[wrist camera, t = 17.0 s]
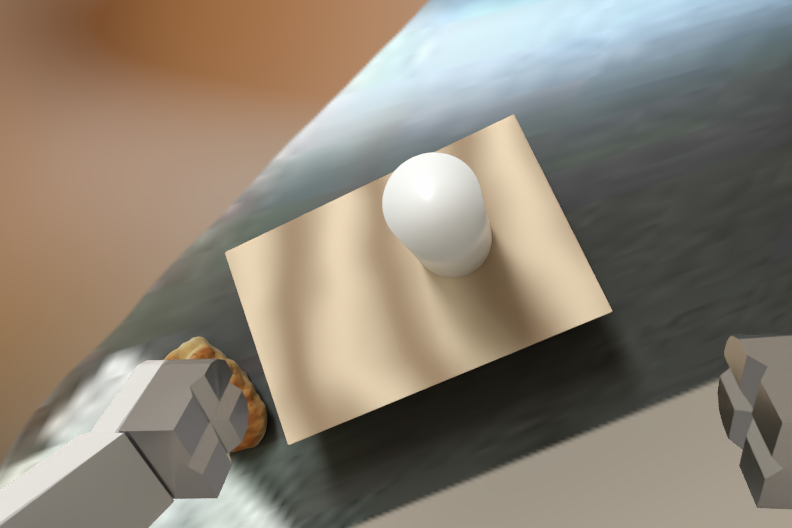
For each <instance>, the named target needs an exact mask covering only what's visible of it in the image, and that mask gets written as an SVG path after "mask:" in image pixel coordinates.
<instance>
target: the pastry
mask: <svg viewBox="0 0 792 528" xmlns="http://www.w3.org/2000/svg"><path fill="white" fill-rule="evenodd" d="M170 359H222V360H226V362H227V364H228V365H229V367H230V369H231V371H232V372H233V375H232V377H231V380H230V383H232V384H233V385H235V386H236V387H238V388H239V389H240V390H242V392H243V394H244V396H245V398H246V400H247V405H248V410H249V415H248V425H247V430H246V432H245V435H244V437H243V440H242V442H241V443H240V444H239V445H238V446H237V447H235V448H234V449H233V450H232V451H231V452H236V451H240V450H243V449H246V448H253V447H255V446H257V445H258V444H259V442H260V441H261V440H262V438H263V437H264V435H265V432H266V427H267V411H266V405H265V404H264V402H263V401H262V400H261V398H260V396H259V395H258V394H257V392H256V390H255V387H254V385H253V384H252V383H251V382H250V380H249V377H248V375H247V373H246V372H245V371H243V370H242V369H241V368H240V367H239V365H238V364H237V363H236V362H235V361H233V360H230V359H228V358H227V356H226V355H224V354H223V353H222V352H221V351H220V350H218V349H217V348H215V347H213V346H212V345H211V344H210V343H209V342H208V341H207V340H206V339H205V338H203V337H194V338H192V339H191V340H189V341H187V342H185V343H183V344H182V345H181V346H180V347H179V348H178V349H176V350H174V351H172V352H171V353H170V354H168V355H167V357H166V358H165V359H164V360H170Z"/></svg>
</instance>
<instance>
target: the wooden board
mask: <svg viewBox="0 0 792 528" xmlns="http://www.w3.org/2000/svg"><path fill="white" fill-rule="evenodd" d="M434 153H444V154H449V155H452V156H454V157H456V158H458V159H460V160H462V161H463V162H464V163H466V164H467V165H468V166H469V167H470V168H471V170H472V171H473V172H474V174H475V176H476V177H477V179H478V182H479V185H480V189H481V193H482V197H483V201H484V204H485V208H486V212H487V216H488V220H489V224H490V228H491V232H492V245H491V249H490V252H489V255H488V257H487V258H486V260H485V261H484V263H483V264H482V265H481V266H480V267H479V268H478V269H477V270H475V271H474V272H472V273H470V274H468V275H465V276H462V277H457V278H447V277H442V276H439V275H436V274H434V273H432V272H431V271H429V270H428V269H427V268H426V267H425V266H424V265H423V264H422V263H421V262H420V261H419V260H418V259H417V258H416V257H415V256H414V255H413V254H412V252H411V251H410V250H409V249H408V248H407V247H406V246H405V245H404V244H403V243H402V242H401V241H400V240H399V239H398V238H397V237H396V236H395V235H394V233H393V232H392V231H391V230H390V228H389V227H388V225H387V223H386V221H385V218H384V214H383V209H382V199H383V193H384V189H385V186H386V184H387V182H388V180H389V178H390V177H391V175H392V174H393V173H394V172H392V173H390V174H388V175H386V176H384V177H382V178H380V179H377V180H375V181H373V182H371V183H369V184H367V185H365V186H363V187H361V188H359V189H357V190H354V191H352V192H350V193H348V194H346V195H344V196H342V197H340V198H338V199H336V200H334V201H331V202H329V203H327V204H325V205H323V206H321V207H319V208H317V209H315V210H313V211H311V212H308V213H306V214H304V215H302V216H300V217H298V218H296V219H294V220H292V221H290V222H288V223H285V224H283V225H281V226H279V227H277V228H275V229H273V230H271V231H269V232H267V233H265V234H263V235H260V236H258V237H256V238H254V239H252V240H250V241H248V242H246V243H244V244H242V245H240V246H237V247H235V248H233V249H231V250H229V251H227V252H225V255H226V258H227V261H228V264H229V267H230V270H231V273H232V276H233V279H234V282H235V285H236V288H237V291H238V294H239V297H240V300H241V303H242V306H243V309H244V312H245V315H246V318H247V321H248V324H249V327H250V330H251V333H252V336H253V339H254V343H255V346H256V349H257V352H258V355H259V358H260V361H261V364H262V367H263V370H264V373H265V376H266V379H267V382H268V385H269V388H270V391H271V394H272V397H273V400H274V403H275V406H276V409H277V412H278V415H279V418H280V421H281V424H282V427H283V430H284V434H285V437H286V440H287V443H288V445H290V444H293V443H295V442H298V441H300V440H303V439H305V438H308V437H310V436H313V435H315V434H317V433H320V432H322V431H325V430H327V429H330V428H332V427H334V426H337V425H339V424H342V423H344V422H347V421H349V420H351V419H354V418H356V417H359V416H361V415H363V414H366V413H368V412H371V411H373V410H376V409H378V408H380V407H383V406H385V405H388V404H390V403H393V402H395V401H397V400H400V399H402V398H405V397H407V396H410V395H412V394H414V393H417V392H419V391H422V390H424V389H427V388H429V387H431V386H434V385H436V384H439V383H441V382H443V381H446V380H448V379H451V378H453V377H456V376H458V375H460V374H463V373H465V372H468V371H470V370H473V369H475V368H477V367H480V366H482V365H485V364H487V363H490V362H492V361H494V360H497V359H499V358H502V357H504V356H507V355H509V354H511V353H514V352H516V351H519V350H521V349H523V348H526V347H528V346H531V345H533V344H536V343H538V342H540V341H543V340H545V339H548V338H550V337H553V336H555V335H557V334H560V333H562V332H565V331H567V330H570V329H572V328H574V327H577V326H579V325H582V324H584V323H586V322H589V321H591V320H594V319H596V318H599V317H601V316H603V315H606V314H608V313H610V312H612V309H611V307H610V305H609V303H608V301H607V299H606V297H605V295H604V293H603V291H602V289H601V287H600V285H599V283H598V281H597V279H596V277H595V275H594V273H593V271H592V269H591V267H590V265H589V263H588V261H587V259H586V257H585V255H584V253H583V251H582V249H581V247H580V245H579V243H578V241H577V239H576V237H575V235H574V233H573V231H572V229H571V227H570V225H569V223H568V221H567V219H566V217H565V215H564V213H563V211H562V209H561V207H560V205H559V203H558V201H557V200H556V198H555V196H554V194H553V192H552V190H551V188H550V186H549V184H548V182H547V180H546V178H545V176H544V174H543V172H542V170H541V168H540V166H539V164H538V162H537V160H536V158H535V156H534V154H533V152H532V150H531V148H530V146H529V144H528V142H527V140H526V138H525V136H524V134H523V132H522V130H521V128H520V126H519V124H518V122H517V120H516V118H515V116H514V114H513V115H511V116H509V117H507V118H505V119H503V120H501V121H499V122H497V123H495V124H492V125H490V126H488V127H486V128H484V129H482V130H480V131H478V132H476V133H474V134H472V135H469V136H467V137H465V138H463V139H461V140H459V141H457V142H455V143H453V144H451V145H449V146H446V147H444V148H442V149H440V150H438V151H436V152H434Z"/></svg>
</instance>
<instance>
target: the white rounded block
mask: <svg viewBox="0 0 792 528" xmlns="http://www.w3.org/2000/svg"><path fill="white" fill-rule="evenodd" d="M382 209H383V214H384V218H385V221H386V223H387V225H388V227H389V228H390V230H391V231H392V232H393V233H394V235H395V236H396V237H397V238H398V239H399V240H400V241H401V242H402V243H403V244H404V245H405V246H406V247H407V248H408V249H409V250H410V251H411V252H412V254H413V255H414V256H415V257H416V258H417V259H418V260H419V261H420V262H421V263H422V264H423V265H424V266H425V267H426V268H427V269H428V270H429V271H431V272H432V273H434V274H436V275H439V276H442V277H447V278H457V277H462V276H465V275H468V274H470V273H472V272H474V271H475V270H477V269H478V268H479V267H480V266H481V265H482V264H483V263H484V261H485V260H486V258H487V257H488V255H489V252H490V249H491V245H492V232H491V228H490V224H489V220H488V216H487V212H486V208H485V204H484V201H483V197H482V193H481V189H480V185H479V182H478V179H477V177H476V176H475V174H474V172H473V171H472V170H471V168H470V167H469V166H468V165H467V164H466V163H464V162H463V161H462V160H460V159H458V158H456V157H454V156H452V155H449V154H444V153H425V154H421V155H418V156H415V157H413V158H411V159H409V160H407V161H406V162H404V163H403V164H401V165H400V166H399V167H398V168H397V169H396V170H395V171H394V173H393V174H392V175H391V177H390V178H389V180H388V182H387V184H386V186H385V189H384V193H383V199H382Z"/></svg>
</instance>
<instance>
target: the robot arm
mask: <svg viewBox="0 0 792 528" xmlns="http://www.w3.org/2000/svg"><path fill="white" fill-rule="evenodd" d="M724 356H725V358H726V360H727V362H728V365H729V367H730V368H729V369H728V370H727V371H726V372H725V373H723V374H722V375H721V376H720V380H719V387H718V402H719V411H720V415H721V419H722V422H723V426H724V428H725V431H726V433H727V436H728V439H730V440H731V441H732V442H733V443H735V444H736V445H737V446H739V447H740V448H741V449H743V452H742V457H741V461H740V465H739V466H740V468H741V470H742V473H743V475H744V478H745V480H746V482H747V485H748V487H749V489H750V492H751V494H752V496H753V499H754V501H755V504H756V506H757V508H772V509H774V508H775V509H792V332H786V333H767V334H749V335H731V336H730V338H729V339H728V341H727V343H726V348H725V353H724ZM232 375H233V372H232V371H231V369H230V367H229V365H228V364H227V362H226V360H222V359H170V360H146V361H144V362H143V363H141V364H139V365H137V367H136V368H135V369H134V371H133V372H132V374H131V375H130V376H129V378H128V379H127V381H126V382H125V384H124V385H123V386H122V388H121V389H120V391H119V392H118V393H117V395H116V396H115V398H114V399H113V401H112V402H111V403H110V405H109V406H108V408H107V409H106V410H105V412H104V413H103V415H102V416H101V418H100V419H99V420H98V422H97V423H96V425H95V426H94V427H93V429H92V430H91V432H90V433H82V434H80V435H79V436H77V437H76V438H74V439H73V440H71V441H70V442H69V443H67V444H66V445H64V446H63V447H61V448H60V449H59V450H57V451H56V452H54V453H53V454H51V455H50V456H48V457H47V458H46V459H44V460H43V461H41V462H40V463H38V464H37V465H35V466H34V467H33V468H31V469H30V470H28V471H27V472H25V473H24V474H22V475H21V476H20V477H18V478H17V479H15V480H14V481H12V482H11V483H10V484H8V485H7V486H5V487H4V488H2V489H1V490H0V528H148V527H149V526H150V525H151V524H152V523H153V522H154V521H155V520H156V519H157V518H158V517H159V516H160V515H161V514H162V513H163V512H164V511H165V510H166V509H167V508H168V507H169V506H170V505H171V504H172V503H173V501H174V500H173V499H187V498H218V496H219V493H220V491H221V489H222V486H223V484H224V482H225V479H226V477H227V475H228V473H229V470H230V468H231V466H232V462H231V458H230V455H229V453H230V452H231V451H232V450H233V449H234V448H235V447H237V446H238V445H239V444H240V443H241V442H242V440H243V437H244V435H245V432H246V430H247V425H248V415H249V410H248V405H247V400H246V398H245V396H244V394H243V392H242V390H240V389H239V388H238V387H236V386H235V385H233V384H232V383H230V380H231V377H232Z"/></svg>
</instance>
